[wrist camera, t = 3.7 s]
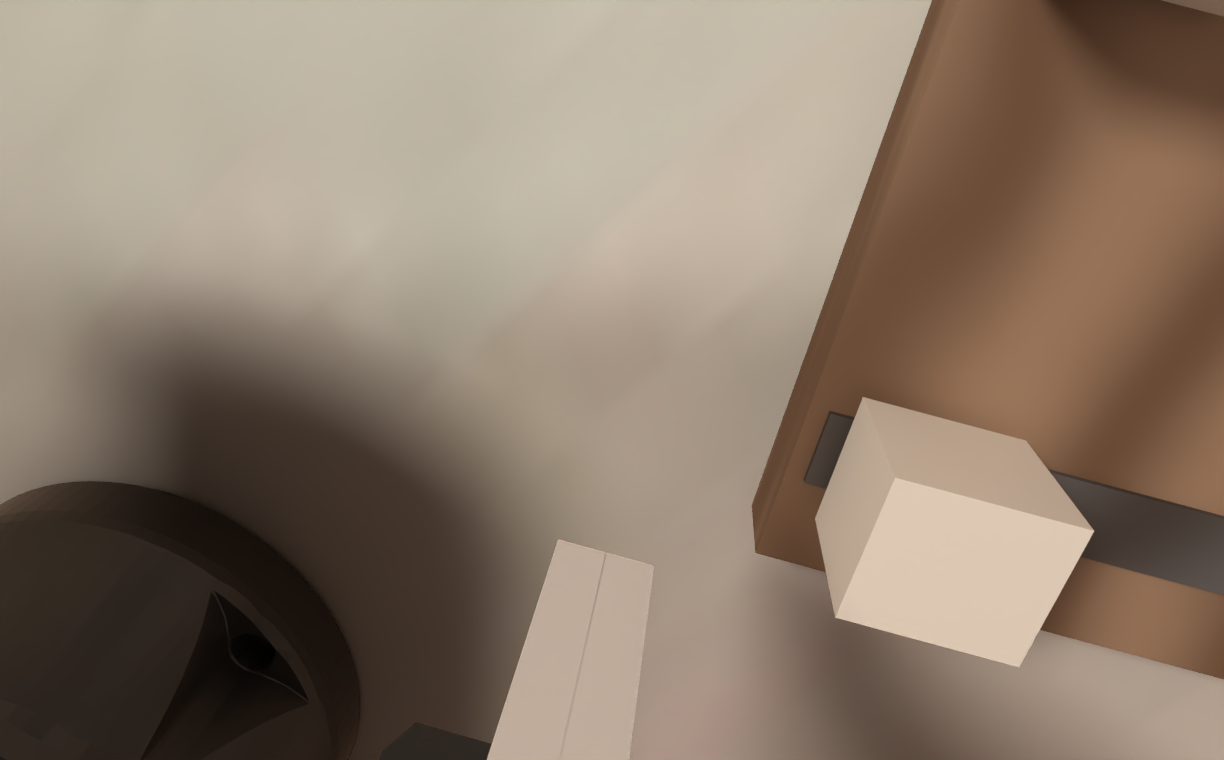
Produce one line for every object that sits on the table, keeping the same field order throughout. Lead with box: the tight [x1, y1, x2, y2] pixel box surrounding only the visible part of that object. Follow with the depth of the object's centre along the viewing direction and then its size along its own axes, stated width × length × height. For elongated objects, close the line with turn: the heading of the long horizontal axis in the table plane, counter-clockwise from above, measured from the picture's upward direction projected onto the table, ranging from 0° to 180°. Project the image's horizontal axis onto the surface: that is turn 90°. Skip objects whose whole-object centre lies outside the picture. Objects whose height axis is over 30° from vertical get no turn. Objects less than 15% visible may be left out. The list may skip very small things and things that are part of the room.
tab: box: [815, 397, 1094, 667], centre depth 19 cm, size 4×4×4 cm
